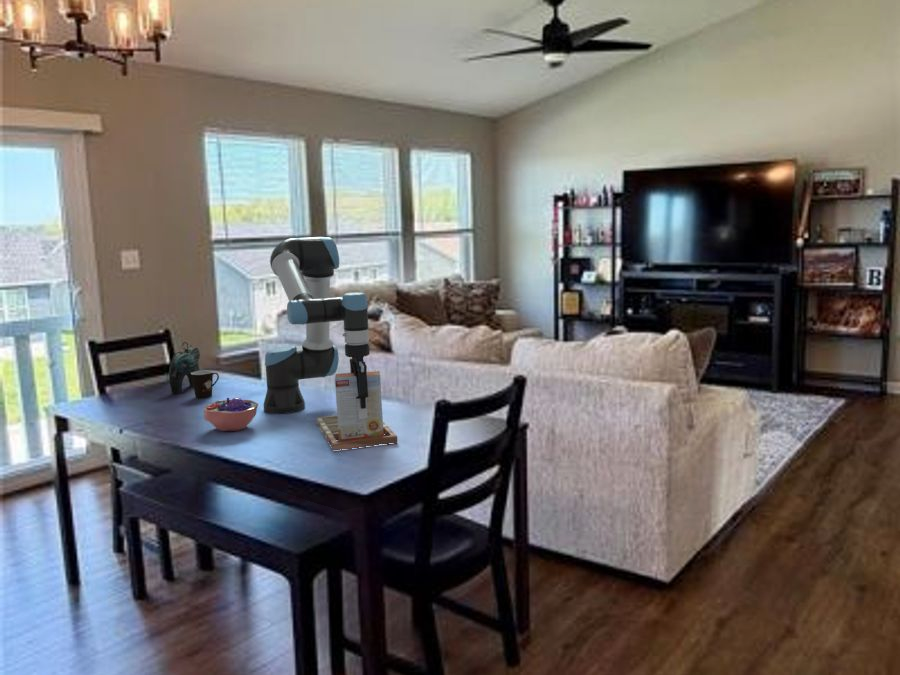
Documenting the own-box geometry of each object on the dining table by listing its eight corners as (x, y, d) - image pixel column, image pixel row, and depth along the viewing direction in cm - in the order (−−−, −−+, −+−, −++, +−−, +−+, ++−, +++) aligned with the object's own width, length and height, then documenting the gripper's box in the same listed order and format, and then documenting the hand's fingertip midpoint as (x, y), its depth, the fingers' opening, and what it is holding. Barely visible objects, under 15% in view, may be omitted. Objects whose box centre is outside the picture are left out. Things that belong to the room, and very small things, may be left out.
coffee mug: (195, 400, 295) (193, 375, 294) (190, 396, 303) (188, 372, 301) (224, 395, 301) (222, 372, 300) (219, 391, 309) (217, 368, 307)
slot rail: (316, 424, 255) (316, 417, 255) (373, 417, 261) (373, 410, 261) (333, 452, 224) (333, 444, 224) (397, 443, 231) (397, 436, 230)
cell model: (236, 418, 266) (234, 388, 264) (269, 428, 253) (267, 396, 251) (193, 430, 253) (191, 397, 251) (226, 440, 240) (223, 406, 238)
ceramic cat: (192, 383, 327) (188, 338, 323) (206, 383, 325) (202, 339, 322) (167, 394, 307) (162, 347, 304) (181, 394, 306) (177, 347, 303)
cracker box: (383, 433, 237) (380, 370, 233) (383, 439, 231) (380, 374, 227) (339, 436, 235) (335, 372, 232) (338, 442, 229) (334, 376, 226)
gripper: (338, 339, 236) (342, 409, 240) (351, 349, 217) (355, 424, 221) (362, 337, 238) (365, 406, 242) (376, 347, 220) (379, 421, 224)
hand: (360, 415), depth 232 cm, fingers closed on cracker box, 7 cm apart
